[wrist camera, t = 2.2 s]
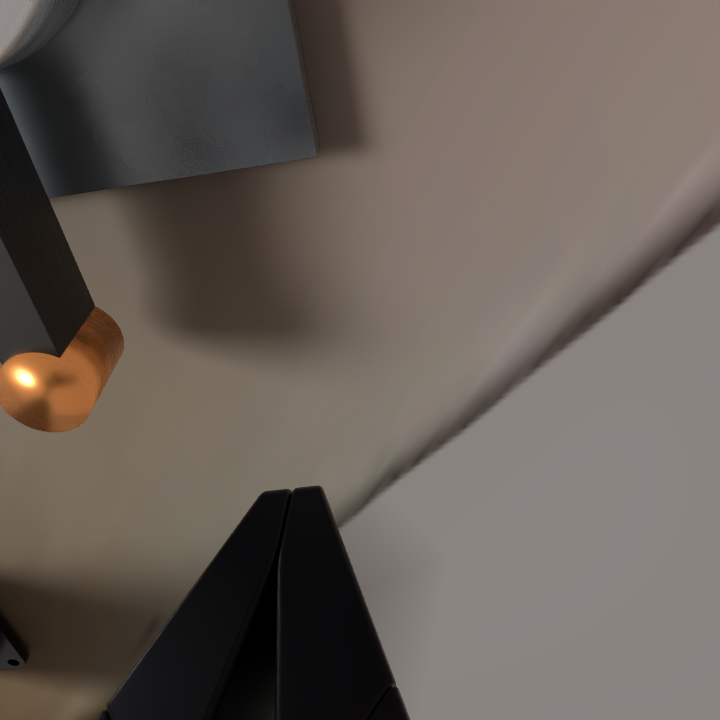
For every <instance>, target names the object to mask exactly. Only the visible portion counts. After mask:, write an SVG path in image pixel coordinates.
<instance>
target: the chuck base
mask: <svg viewBox="0 0 720 720" xmlns="http://www.w3.org/2000/svg"><path fill="white" fill-rule="evenodd" d="M0 88H1V90H2V92H3V95H4V97H5V99H6V102H7V104H8V106H9V109H10V111H11V113H12V115H13V118H14V120H15V122H16V125H17V127H18V129H19V132H20V134H21V136H22V139H23V141H24V143H25V145H26V148H27V150H28V152H29V155H30V157H31V159H32V162H33V164H34V166H35V169H36V171H37V173H38V176H39V178H40V180H41V182H42V185H43V187H44V189H45V192H46V194H47V196H48V198H52V197H59V196H65V195H72V194H78V193H85V192H91V191H98V190H104V189H111V188H117V187H124V186H130V185H137V184H143V183H150V182H157V181H163V180H170V179H176V178H183V177H189V176H196V175H202V174H209V173H215V172H222V171H228V170H235V169H241V168H248V167H254V166H261V165H268V164H274V163H281V162H287V161H294V160H300V159H307V158H313V157H317V155H318V150H319V140H318V135H317V129H316V124H315V118H314V113H313V108H312V102H311V97H310V91H309V86H308V81H307V75H306V70H305V65H304V59H303V54H302V48H301V43H300V38H299V32H298V27H297V21H296V16H295V11H294V5H293V0H79V1H78V3H77V5H76V6H75V8H74V10H73V12H72V14H71V15H70V17H69V18H68V19H67V21H66V22H65V23H64V25H63V26H62V27H61V29H60V30H59V31H58V32H57V33H56V34H55V35H54V36H53V37H52V38H51V39H50V40H49V41H48V42H47V43H46V44H45V45H44V46H43V47H41V48H40V49H38V50H37V51H35V52H34V53H32V54H31V55H29V56H28V57H26V58H25V59H23V60H21V61H19V62H16V63H14V64H12V65H10V66H7V67H5V68H3V69H0Z"/></svg>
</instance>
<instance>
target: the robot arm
mask: <svg viewBox="0 0 720 720" xmlns="http://www.w3.org/2000/svg"><path fill="white" fill-rule="evenodd" d="M28 658H29V654H28V652H27V651H26V650H25V648H24V647H23V646H22V644H21V643H20V642H19V640H18V639H17V638H16V636H15V635H14V634H13V632H12V631H11V630H10V628H9V627H8V626H7V624H6V623H5V622H4V620H3V619H2V618H1V616H0V671H2V670H13V669H21V668H23V667H25V665H26V662H27V660H28ZM95 720H410V718H409V716H408V713H407V710H406V708H405V705H404V702H403V699H402V697H401V694H400V692H399V689H398V688H397V687H396V682H395V679H394V677H393V674H392V671H391V669H390V666H389V663H388V661H387V658H386V655H385V653H384V650H383V647H382V644H381V642H380V639H379V636H378V634H377V631H376V628H375V626H374V623H373V621H372V618H371V615H370V613H369V610H368V607H367V605H366V602H365V599H364V597H363V594H362V591H361V589H360V586H359V583H358V581H357V578H356V575H355V573H354V570H353V567H352V565H351V562H350V559H349V557H348V554H347V552H346V549H345V546H344V544H343V541H342V538H341V535H340V533H339V530H338V527H337V525H336V522H335V519H334V517H333V514H332V511H331V509H330V506H329V503H328V501H327V498H326V495H325V493H324V490H323V488H322V487H321V486H309V487H300V488H295V489H294V490H293V492H292V491H291V490H289V489H282V490H273V491H265V492H263V493H262V494H261V495H260V496H259V497H258V498H257V500H256V501H255V502H254V504H253V505H252V507H251V508H250V509H249V511H248V512H247V513H246V515H245V516H244V517H243V519H242V520H241V522H240V523H239V524H238V526H237V527H236V528H235V530H234V531H233V533H232V534H231V535H230V537H229V538H228V539H227V541H226V542H225V543H224V545H223V546H222V548H221V549H220V550H219V552H218V553H217V554H216V556H215V557H214V558H213V560H212V561H211V563H210V564H209V565H208V567H207V568H206V569H205V571H204V572H203V574H202V575H201V576H200V578H199V579H198V580H197V582H196V583H195V584H194V586H193V587H192V589H191V590H190V591H189V593H188V594H187V595H186V597H185V598H184V600H183V601H182V602H181V604H180V605H179V606H178V608H177V609H176V610H175V612H174V613H173V615H172V616H171V617H170V619H169V620H168V621H167V623H166V624H165V625H164V627H163V628H162V630H161V631H160V632H159V634H158V635H157V636H156V638H155V639H154V641H153V642H152V643H151V645H150V646H149V647H148V649H147V650H146V651H145V653H144V654H143V656H142V657H141V658H140V660H139V661H138V662H137V664H136V665H135V666H134V668H133V669H132V671H131V672H130V673H129V675H128V676H127V677H126V679H125V680H124V682H123V683H122V684H121V686H120V687H119V688H118V690H117V691H116V692H115V694H114V695H113V697H112V698H111V699H110V701H109V702H108V703H107V710H103V711H101V713H100V714H99V715H98V717H97V718H96V719H95Z"/></svg>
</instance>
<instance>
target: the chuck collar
mask: <svg viewBox="0 0 720 720" xmlns="http://www.w3.org/2000/svg"><path fill="white" fill-rule="evenodd" d="M78 1H79V0H0V69H3V68H5V67H7V66H10V65H12V64H14V63H16V62H19V61H21V60H23V59H25V58H26V57H28V56H29V55H31V54H32V53H34V52H35V51H37V50H38V49H40V48H41V47H43V46H44V45H45V44H46V43H47V42H48V41H49V40H50V39H51V38H52V37H53V36H54V35H55V34H56V33H57V32H58V31H59V30H60V29H61V27H62V26H63V25H64V23H65V22H66V21H67V19H68V18H69V17H70V15H71V14H72V12H73V10H74V8H75V6H76V5H77V3H78ZM123 350H124V339H123V335H122V332H121V330H120V328H119V326H118V325H117V323H116V322H115V321H114V320H113V319H112V318H111V317H110V316H109V315H108V314H107V313H105V312H104V311H102V310H101V309H99V308H97V307H95V305H94V302H93V300H92V298H91V296H90V293H89V291H88V289H87V286H86V284H85V282H84V279H83V277H82V275H81V272H80V270H79V268H78V266H77V263H76V261H75V259H74V256H73V254H72V252H71V249H70V247H69V245H68V242H67V240H66V238H65V236H64V233H63V231H62V229H61V226H60V224H59V222H58V219H57V217H56V215H55V212H54V210H53V208H52V206H51V203H50V201H49V199H48V196H47V194H46V192H45V189H44V187H43V185H42V182H41V180H40V178H39V176H38V173H37V171H36V169H35V166H34V164H33V162H32V159H31V157H30V155H29V152H28V150H27V148H26V145H25V143H24V141H23V139H22V136H21V134H20V132H19V129H18V127H17V125H16V122H15V120H14V118H13V115H12V113H11V111H10V109H9V106H8V104H7V102H6V99H5V97H4V95H3V92H2V90H1V88H0V362H1V364H2V367H1V368H0V404H1V406H2V407H3V408H4V409H5V411H6V412H7V413H8V414H9V415H11V416H12V417H13V418H14V419H16V420H17V421H19V422H20V423H22V424H24V425H26V426H29V427H31V428H34V429H37V430H41V431H46V432H64V431H68V430H72V429H74V428H76V427H78V426H80V425H81V424H82V423H83V422H84V421H85V420H86V419H87V417H88V415H89V414H90V412H91V410H92V408H93V406H94V405H95V403H96V401H97V399H98V397H99V395H100V394H101V392H102V390H103V388H104V386H105V385H106V383H107V381H108V379H109V377H110V375H111V374H112V372H113V370H114V368H115V366H116V365H117V363H118V361H119V359H120V357H121V355H122V353H123Z"/></svg>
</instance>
